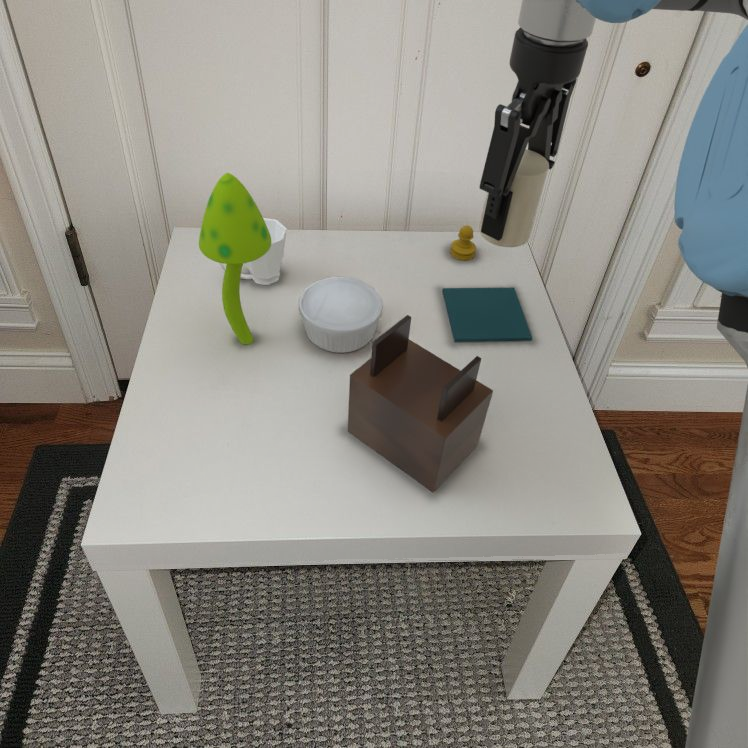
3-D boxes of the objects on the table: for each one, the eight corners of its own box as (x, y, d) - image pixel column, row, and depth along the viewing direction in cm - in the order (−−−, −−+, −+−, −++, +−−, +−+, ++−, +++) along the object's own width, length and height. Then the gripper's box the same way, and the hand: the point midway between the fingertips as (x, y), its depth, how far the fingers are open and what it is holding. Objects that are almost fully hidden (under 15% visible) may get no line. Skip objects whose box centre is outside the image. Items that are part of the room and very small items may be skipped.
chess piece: (448, 245, 107) (453, 219, 103) (472, 245, 107) (477, 219, 103) (452, 260, 104) (456, 234, 100) (476, 260, 104) (482, 234, 101)
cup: (292, 287, 97) (291, 242, 91) (224, 296, 95) (217, 250, 89) (284, 259, 102) (282, 214, 96) (219, 266, 100) (212, 221, 94)
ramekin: (291, 311, 94) (290, 282, 90) (366, 298, 96) (368, 270, 93) (310, 366, 86) (309, 337, 83) (390, 351, 89) (393, 322, 85)
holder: (477, 445, 79) (502, 358, 68) (433, 493, 74) (452, 406, 63) (394, 390, 84) (404, 301, 73) (347, 431, 79) (351, 342, 68)
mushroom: (273, 363, 86) (260, 196, 68) (209, 359, 86) (178, 190, 68) (281, 321, 92) (272, 156, 74) (221, 316, 92) (197, 150, 74)
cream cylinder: (539, 232, 86) (559, 161, 78) (512, 254, 82) (531, 182, 75) (496, 211, 88) (512, 142, 81) (469, 232, 85) (482, 161, 77)
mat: (513, 290, 100) (514, 287, 99) (531, 340, 92) (532, 337, 92) (442, 291, 99) (442, 287, 98) (454, 342, 91) (454, 339, 91)
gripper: (566, 1, 74) (521, 183, 91) (468, 46, 64) (438, 243, 80) (627, 20, 71) (569, 204, 88) (535, 71, 60) (489, 270, 77)
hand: (506, 222), depth 84 cm, fingers closed on cream cylinder, 7 cm apart
